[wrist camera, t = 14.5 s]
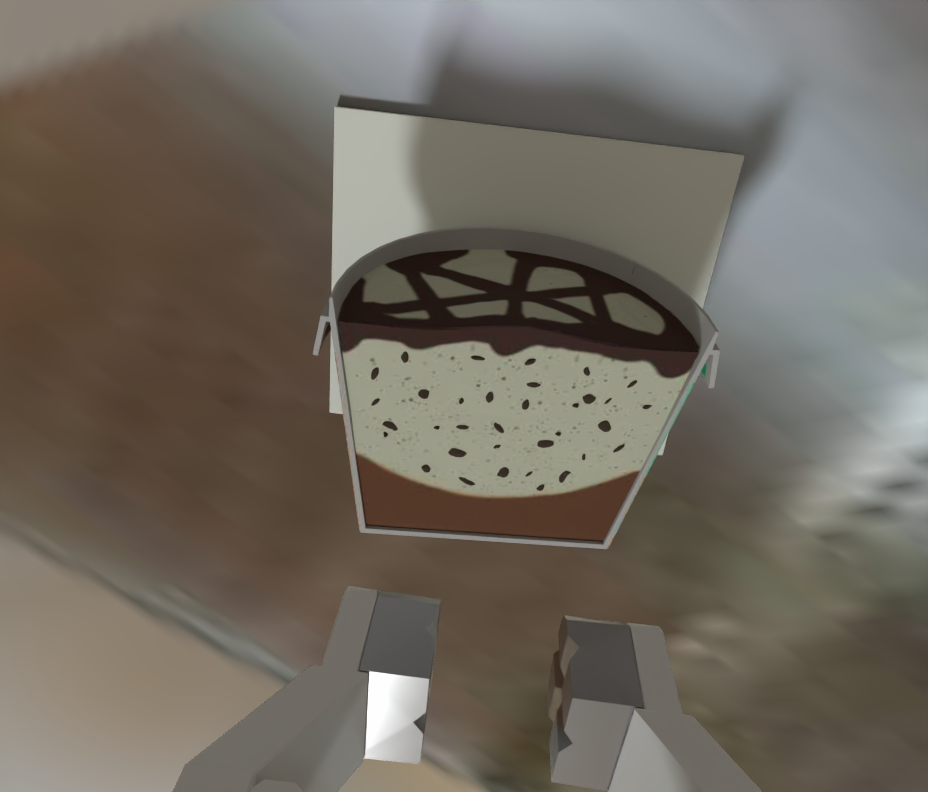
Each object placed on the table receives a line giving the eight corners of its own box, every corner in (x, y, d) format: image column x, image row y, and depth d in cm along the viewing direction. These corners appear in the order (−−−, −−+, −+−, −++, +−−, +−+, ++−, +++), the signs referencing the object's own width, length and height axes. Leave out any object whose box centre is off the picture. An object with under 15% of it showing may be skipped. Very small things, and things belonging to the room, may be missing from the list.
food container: (619, 441, 32) (685, 237, 26) (646, 552, 27) (736, 333, 21) (341, 420, 31) (340, 203, 25) (319, 529, 26) (310, 295, 20)
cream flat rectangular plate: (742, 154, 24) (744, 156, 24) (661, 451, 30) (662, 455, 30) (336, 106, 25) (334, 106, 24) (331, 408, 30) (329, 412, 30)
